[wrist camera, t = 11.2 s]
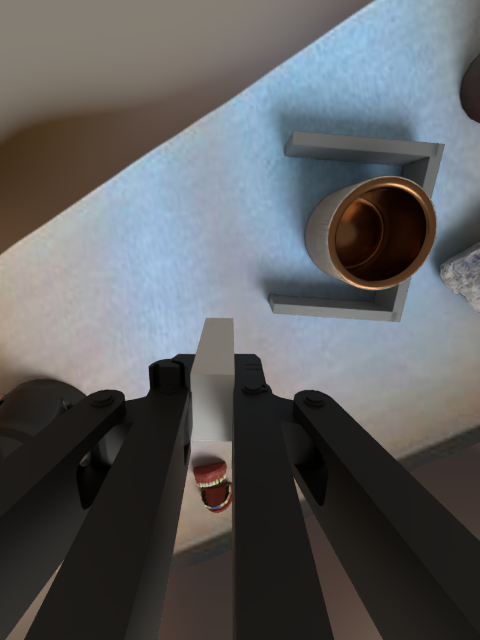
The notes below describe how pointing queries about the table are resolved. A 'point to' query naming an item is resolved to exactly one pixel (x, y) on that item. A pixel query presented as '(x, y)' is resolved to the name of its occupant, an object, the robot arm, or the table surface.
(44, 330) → the table surface
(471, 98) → the beer bottle
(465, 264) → the rock
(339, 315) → the box
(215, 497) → the dentures
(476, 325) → the table surface
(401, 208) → the planter
